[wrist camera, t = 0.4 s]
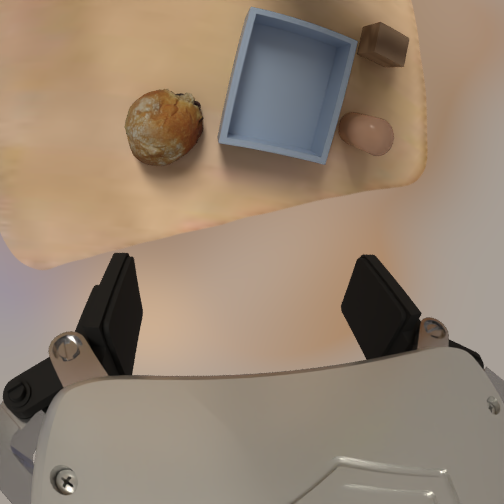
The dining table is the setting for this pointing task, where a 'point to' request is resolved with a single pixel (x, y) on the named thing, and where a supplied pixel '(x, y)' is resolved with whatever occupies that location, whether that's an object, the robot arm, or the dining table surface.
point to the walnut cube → (383, 45)
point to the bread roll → (163, 126)
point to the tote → (286, 86)
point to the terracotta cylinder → (366, 133)
